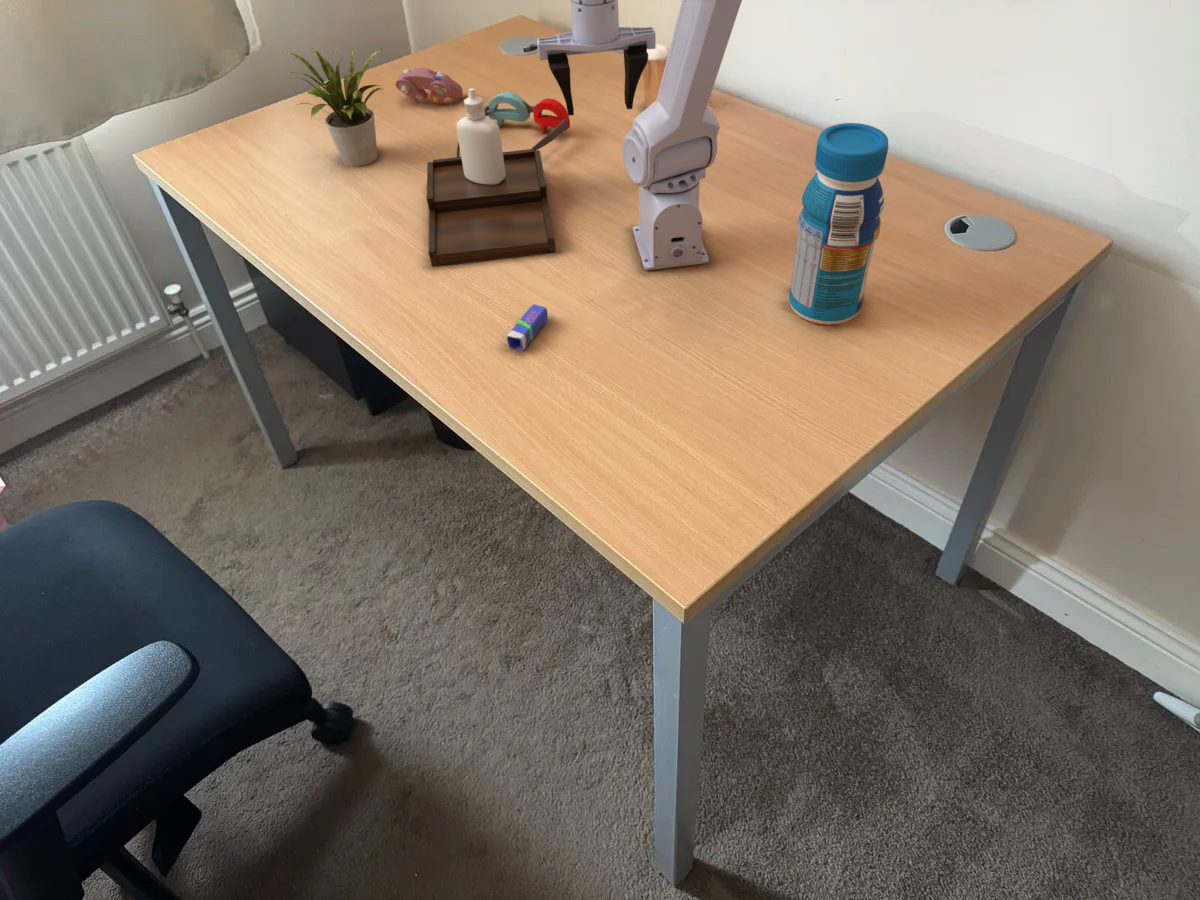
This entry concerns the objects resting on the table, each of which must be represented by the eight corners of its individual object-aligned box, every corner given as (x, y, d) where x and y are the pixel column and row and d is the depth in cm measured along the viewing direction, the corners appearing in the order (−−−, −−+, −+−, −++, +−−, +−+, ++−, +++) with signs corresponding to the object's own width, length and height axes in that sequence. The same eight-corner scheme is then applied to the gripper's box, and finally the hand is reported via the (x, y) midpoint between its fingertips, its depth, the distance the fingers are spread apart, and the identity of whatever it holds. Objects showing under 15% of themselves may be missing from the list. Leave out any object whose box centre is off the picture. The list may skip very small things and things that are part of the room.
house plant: (285, 178, 123) (246, 64, 111) (328, 134, 132) (296, 24, 121) (375, 186, 120) (345, 69, 109) (412, 140, 130) (388, 28, 118)
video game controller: (404, 110, 141) (387, 80, 134) (412, 87, 142) (395, 56, 135) (459, 115, 138) (444, 85, 132) (466, 92, 140) (452, 61, 133)
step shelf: (555, 252, 107) (553, 224, 104) (431, 266, 106) (425, 238, 103) (542, 174, 120) (539, 147, 118) (432, 186, 120) (426, 160, 117)
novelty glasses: (575, 132, 129) (572, 100, 125) (529, 179, 120) (525, 145, 116) (495, 119, 133) (491, 87, 130) (445, 163, 124) (439, 130, 121)
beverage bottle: (771, 306, 97) (791, 139, 82) (815, 274, 101) (842, 109, 86) (834, 337, 93) (866, 167, 78) (877, 302, 96) (916, 134, 82)
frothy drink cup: (631, 104, 134) (630, 39, 127) (661, 97, 136) (662, 31, 128) (644, 116, 131) (644, 49, 124) (675, 108, 133) (676, 41, 125)
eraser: (507, 348, 94) (505, 333, 93) (534, 317, 98) (532, 303, 96) (523, 352, 93) (521, 338, 92) (549, 321, 97) (547, 307, 96)
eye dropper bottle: (489, 165, 116) (475, 77, 108) (510, 181, 113) (498, 91, 105) (461, 175, 115) (445, 87, 106) (481, 191, 112) (467, 102, 103)
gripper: (648, -20, 104) (649, 90, 114) (530, -9, 103) (541, 101, 113) (658, -1, 99) (658, 113, 109) (535, 12, 98) (546, 125, 108)
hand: (599, 109), depth 111 cm, fingers open, 7 cm apart
